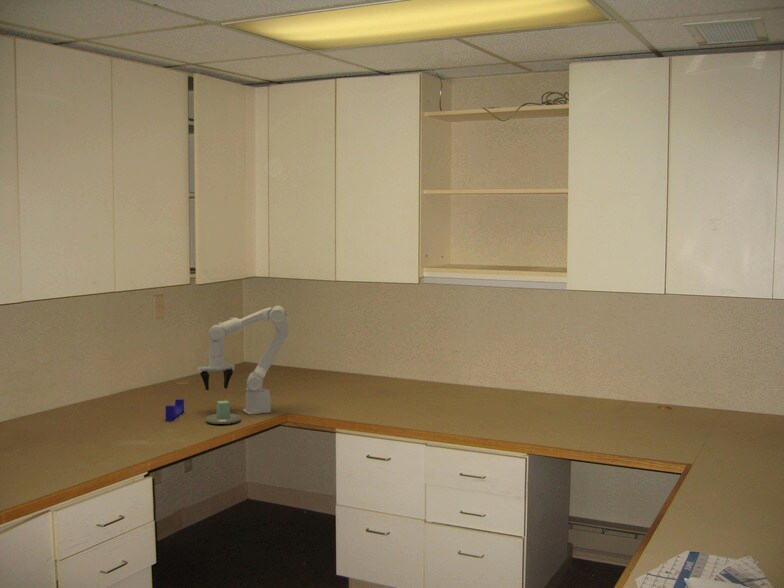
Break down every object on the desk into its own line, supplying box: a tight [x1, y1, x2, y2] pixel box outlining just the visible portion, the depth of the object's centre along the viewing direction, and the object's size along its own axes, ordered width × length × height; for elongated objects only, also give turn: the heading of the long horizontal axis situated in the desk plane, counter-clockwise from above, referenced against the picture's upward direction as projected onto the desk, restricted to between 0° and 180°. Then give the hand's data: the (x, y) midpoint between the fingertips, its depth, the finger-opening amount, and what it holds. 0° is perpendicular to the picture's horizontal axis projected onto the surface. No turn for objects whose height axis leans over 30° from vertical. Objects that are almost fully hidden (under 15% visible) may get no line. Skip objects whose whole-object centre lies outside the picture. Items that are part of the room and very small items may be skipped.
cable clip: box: [165, 398, 185, 422], centre depth 311 cm, size 12×4×6 cm, turn 175°
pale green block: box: [216, 400, 231, 419], centre depth 306 cm, size 4×4×6 cm
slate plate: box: [205, 413, 241, 425], centre depth 306 cm, size 13×13×2 cm
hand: (216, 389), depth 320 cm, fingers open, 7 cm apart
